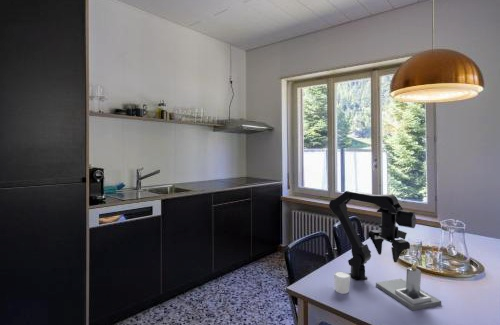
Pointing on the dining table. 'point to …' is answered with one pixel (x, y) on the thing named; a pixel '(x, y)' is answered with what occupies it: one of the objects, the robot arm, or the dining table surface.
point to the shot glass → (342, 282)
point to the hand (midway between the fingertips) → (387, 258)
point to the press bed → (399, 292)
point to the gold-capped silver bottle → (413, 282)
